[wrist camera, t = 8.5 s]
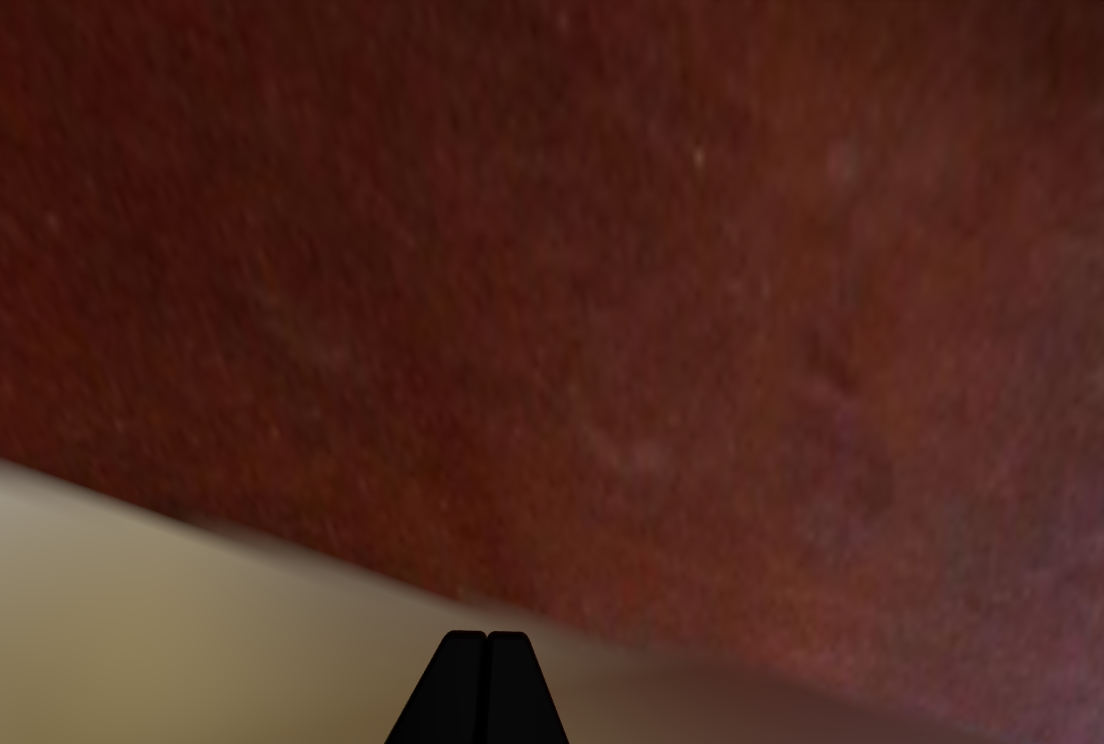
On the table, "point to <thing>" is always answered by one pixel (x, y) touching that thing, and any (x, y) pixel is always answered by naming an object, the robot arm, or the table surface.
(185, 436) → the table surface
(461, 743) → the robot arm
